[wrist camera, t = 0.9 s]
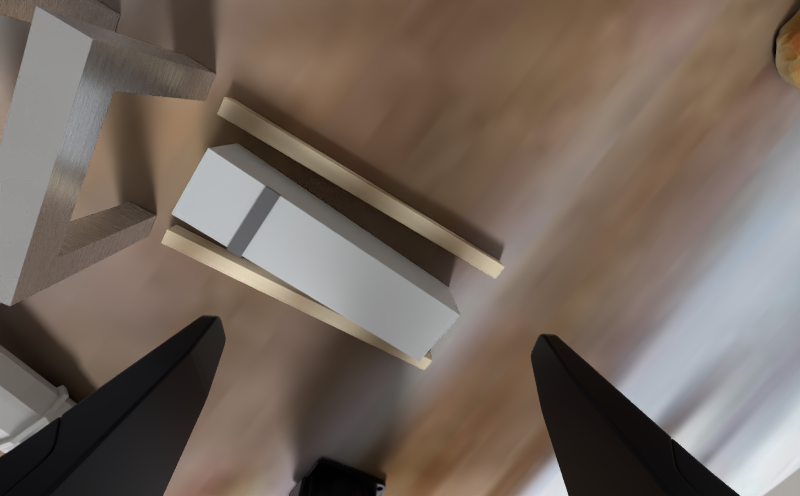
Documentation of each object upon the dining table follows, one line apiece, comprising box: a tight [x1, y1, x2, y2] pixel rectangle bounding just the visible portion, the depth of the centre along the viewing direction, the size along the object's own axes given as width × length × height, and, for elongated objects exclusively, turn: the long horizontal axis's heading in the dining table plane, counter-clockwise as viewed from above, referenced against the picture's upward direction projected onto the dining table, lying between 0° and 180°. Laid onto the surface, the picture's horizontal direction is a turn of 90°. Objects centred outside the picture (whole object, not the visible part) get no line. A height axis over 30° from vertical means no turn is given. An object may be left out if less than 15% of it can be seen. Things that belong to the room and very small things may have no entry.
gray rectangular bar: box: [172, 143, 461, 361], centre depth 21 cm, size 16×4×4 cm, turn 53°
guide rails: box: [162, 97, 505, 370], centre depth 22 cm, size 19×10×1 cm, turn 58°
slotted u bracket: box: [0, 0, 216, 306], centre depth 15 cm, size 7×11×9 cm, turn 148°
